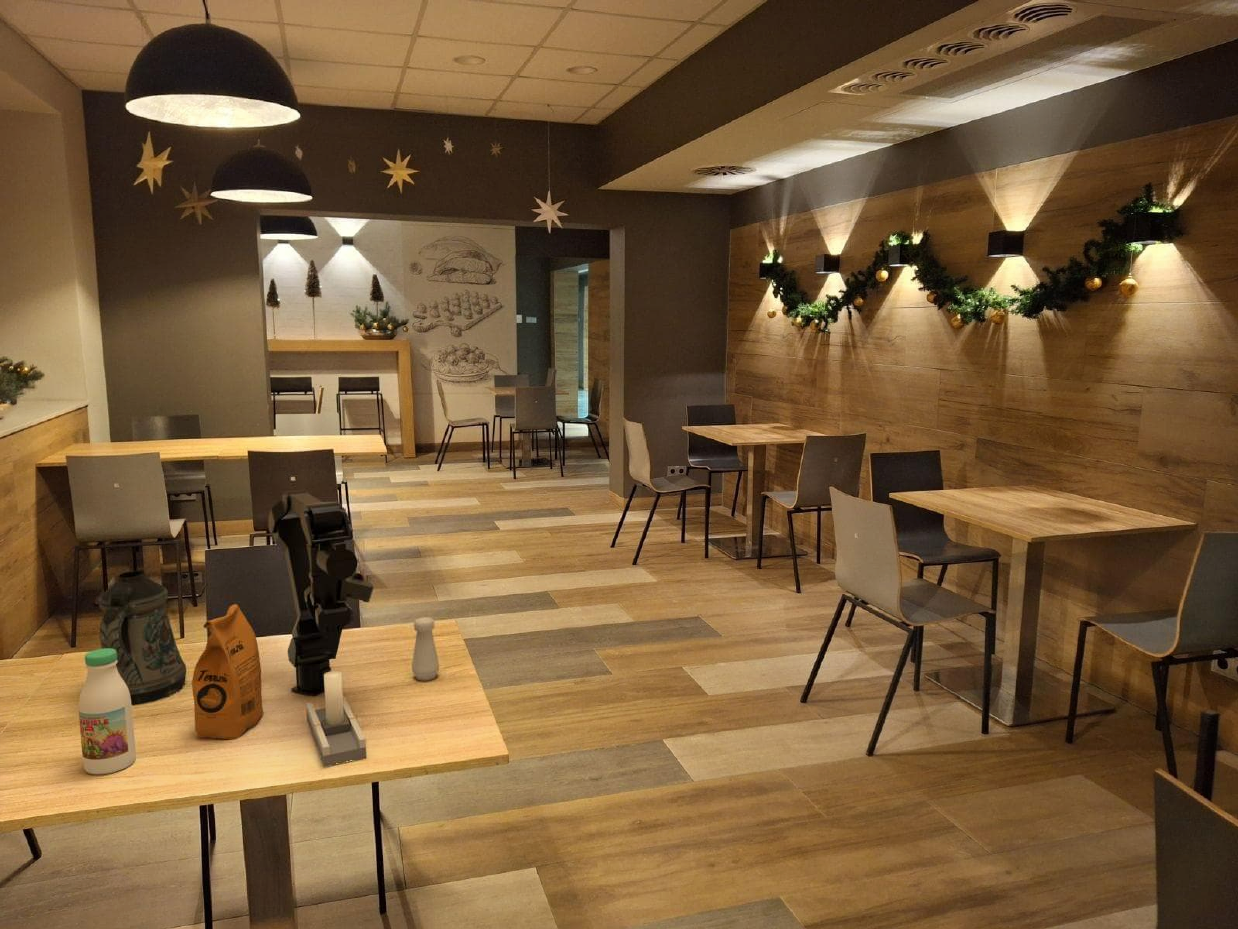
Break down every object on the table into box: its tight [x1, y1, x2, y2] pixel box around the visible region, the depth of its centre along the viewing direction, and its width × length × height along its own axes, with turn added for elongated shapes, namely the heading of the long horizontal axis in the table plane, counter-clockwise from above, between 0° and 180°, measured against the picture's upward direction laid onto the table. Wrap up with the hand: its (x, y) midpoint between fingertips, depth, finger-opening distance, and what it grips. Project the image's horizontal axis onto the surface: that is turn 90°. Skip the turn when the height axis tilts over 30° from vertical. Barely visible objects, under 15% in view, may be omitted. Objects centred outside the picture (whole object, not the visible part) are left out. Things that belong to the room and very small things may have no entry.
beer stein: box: [97, 570, 187, 706], centre depth 174 cm, size 16×19×25 cm
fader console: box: [305, 696, 367, 768], centre depth 155 cm, size 20×7×4 cm, turn 28°
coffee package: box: [191, 604, 264, 740], centre depth 159 cm, size 10×12×22 cm
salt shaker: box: [411, 616, 440, 682], centre depth 183 cm, size 6×6×13 cm
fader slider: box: [321, 670, 350, 736], centre depth 154 cm, size 4×4×10 cm
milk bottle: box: [78, 648, 137, 775], centre depth 144 cm, size 8×8×20 cm
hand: (329, 646), depth 166 cm, fingers open, 9 cm apart
